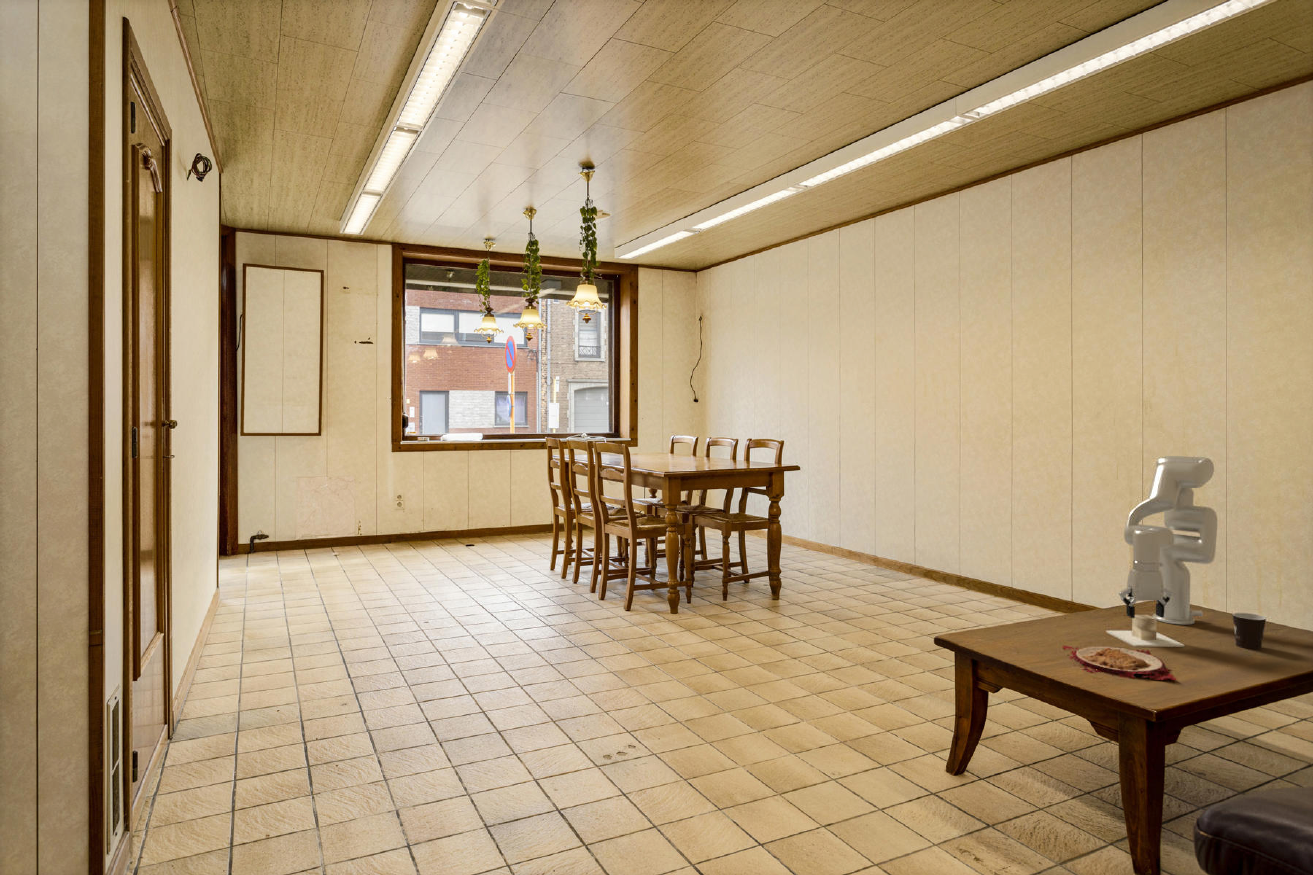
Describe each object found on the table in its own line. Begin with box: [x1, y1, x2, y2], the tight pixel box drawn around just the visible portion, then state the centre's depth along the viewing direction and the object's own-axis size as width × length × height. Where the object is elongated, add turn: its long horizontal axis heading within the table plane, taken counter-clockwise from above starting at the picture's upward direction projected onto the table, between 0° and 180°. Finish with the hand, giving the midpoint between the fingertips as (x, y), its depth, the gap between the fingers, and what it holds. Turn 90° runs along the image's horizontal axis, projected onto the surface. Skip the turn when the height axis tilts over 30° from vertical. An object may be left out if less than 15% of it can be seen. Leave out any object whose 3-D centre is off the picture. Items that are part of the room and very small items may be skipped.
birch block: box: [1131, 614, 1158, 640], centre depth 257 cm, size 5×5×7 cm
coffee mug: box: [1232, 612, 1267, 651], centre depth 250 cm, size 12×9×10 cm
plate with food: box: [1062, 645, 1177, 681], centre depth 233 cm, size 25×26×4 cm
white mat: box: [1106, 630, 1185, 648], centre depth 258 cm, size 16×16×1 cm
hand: (1145, 616), depth 258 cm, fingers open, 9 cm apart
